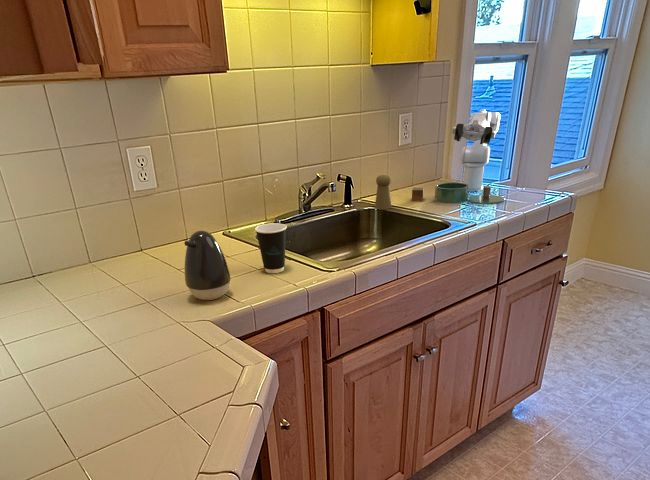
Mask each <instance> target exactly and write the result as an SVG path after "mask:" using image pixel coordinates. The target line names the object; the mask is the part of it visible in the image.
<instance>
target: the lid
mask: <svg viewBox="0 0 650 480" xmlns="http://www.w3.org/2000/svg"><path fill="white" fill-rule="evenodd" d="M491 191H492V186H489V185H485V186H483V190H482V194H475V195H470V196H468V198H467V201H468V202H469V203H473V204H479V205H494V204H500V203H503V202H505V197H504V196H501V195H496V194H491Z"/></svg>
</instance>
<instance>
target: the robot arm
mask: <svg viewBox="0 0 650 480" xmlns="http://www.w3.org/2000/svg"><path fill="white" fill-rule="evenodd" d="M500 121H501V114H500V112H495V111H486V109H480V110H479V111H478V112H471V115H470V119H469V123H466V124H464V123H457V124H456V126H453V128H452V132H451V134H452V135H454V137H453V139H454V141H457V142H461V141H462V138H463V139H465V140H467V141H469V142H473V144H471V145H467V146H464V147H463V148H462V150H461V156H460V163H461V165H463V167H464V168H463V178H462V183H464V184H468V185H469V188H468V192H469V191H476V192H478V191H482V192H483V189H484V185H483V179H484V171H485V166H486V165H487V164H489V159H490V155H491V154H490V153H491V148H490V146H489V144H490V143H491V139H492V140H494V139H495V138H496V134H497V133H498V131H499V127H500Z"/></svg>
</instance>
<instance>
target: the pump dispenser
mask: <svg viewBox="0 0 650 480" xmlns="http://www.w3.org/2000/svg"><path fill="white" fill-rule="evenodd" d="M183 244H184V246H186V250H185V255H184V282H185V286H186V287H187V288H188V290H189V292H190V294H192V295H193V296H194V297H195V298H196V299H199V300H202V301H214V300H217V299H220V298H222V297H223V296H224V295H225V294H226V293H227V291H228V290H229V288H230V282H231V280H232V279H231V273H230V269H229V264H228V262H227V260H226V256H225V255H224V252H223V250H222V248H221V246H220V244H219V243H218V241H217V239H216V238H215V236H213V234H211V233H210V232H209V231H206V230H201V229H200V230H197V231H195V232H193V233H192V234H191V235H190V237H189V239H188V240H185V241H184V242H183Z"/></svg>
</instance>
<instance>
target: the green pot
mask: <svg viewBox="0 0 650 480" xmlns="http://www.w3.org/2000/svg"><path fill="white" fill-rule="evenodd" d="M468 188H469V185H468V184H464V183H463V182H442V183H437V184H435V187H434V191H435V192H434V201H435V202H436V203H440V204H449V205H450V204H461V203H465V202H467V201H468V197H469V196H468V195H469V191H468Z"/></svg>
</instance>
